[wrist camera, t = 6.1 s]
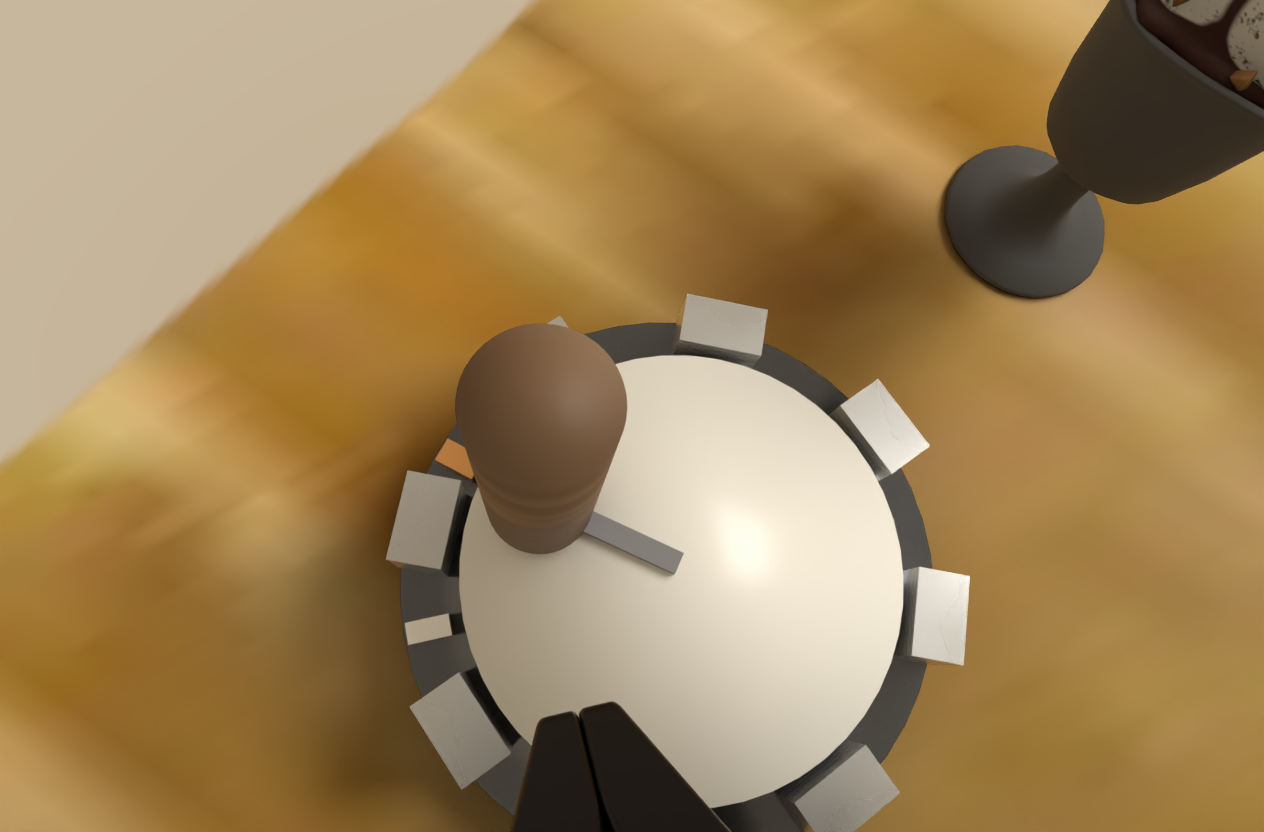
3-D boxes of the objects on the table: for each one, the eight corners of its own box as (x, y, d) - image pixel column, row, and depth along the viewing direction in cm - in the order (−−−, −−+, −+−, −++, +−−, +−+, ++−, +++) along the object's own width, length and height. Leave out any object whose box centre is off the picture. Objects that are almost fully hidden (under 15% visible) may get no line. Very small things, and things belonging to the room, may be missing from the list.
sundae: (1077, 370, 26) (1728, 19, 12) (878, 246, 27) (1276, -238, 12) (1165, 200, 28) (1823, -283, 14) (976, 86, 29) (1423, -499, 14)
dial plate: (973, 780, 23) (1043, 799, 20) (458, 919, 21) (444, 965, 18) (834, 305, 26) (876, 256, 23) (371, 389, 24) (346, 347, 21)
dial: (792, 875, 20) (997, 1046, 11) (386, 684, 21) (267, 702, 12) (934, 475, 23) (1191, 356, 14) (575, 311, 23) (599, 87, 14)
